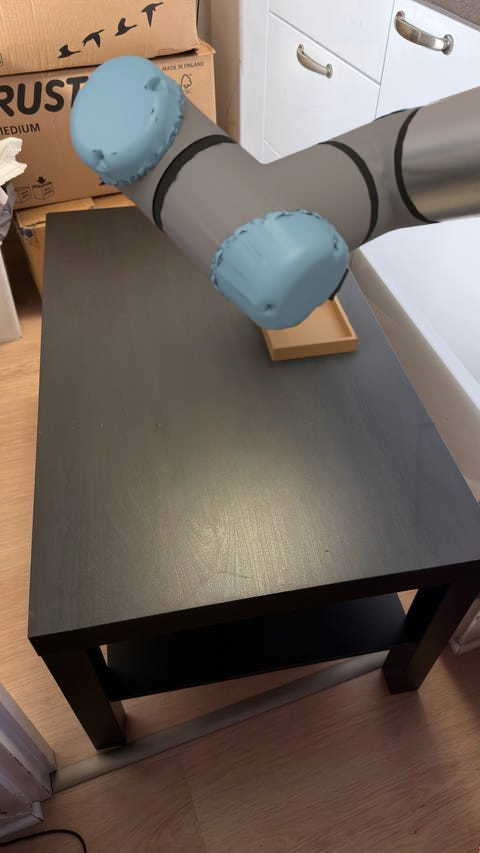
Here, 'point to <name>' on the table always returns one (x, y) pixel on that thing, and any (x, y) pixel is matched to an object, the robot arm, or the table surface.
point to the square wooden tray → (314, 334)
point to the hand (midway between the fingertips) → (301, 275)
